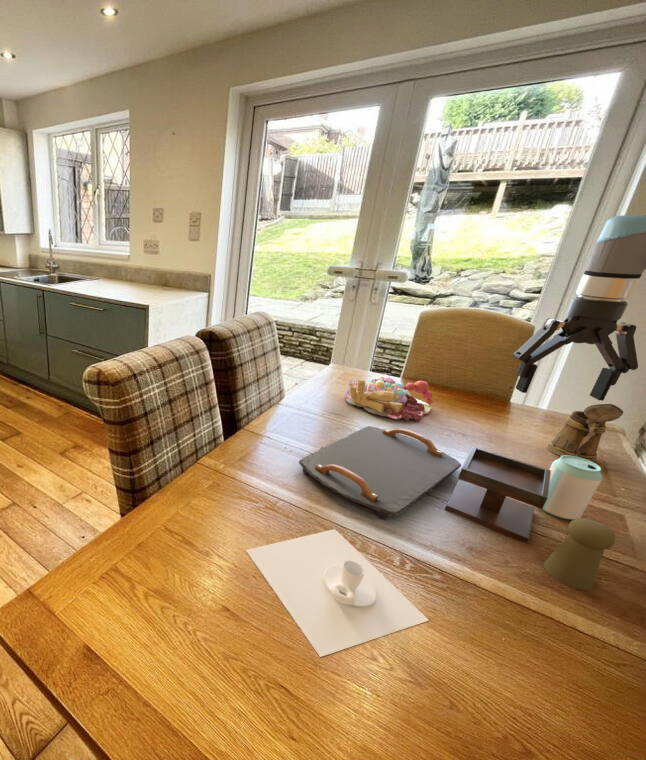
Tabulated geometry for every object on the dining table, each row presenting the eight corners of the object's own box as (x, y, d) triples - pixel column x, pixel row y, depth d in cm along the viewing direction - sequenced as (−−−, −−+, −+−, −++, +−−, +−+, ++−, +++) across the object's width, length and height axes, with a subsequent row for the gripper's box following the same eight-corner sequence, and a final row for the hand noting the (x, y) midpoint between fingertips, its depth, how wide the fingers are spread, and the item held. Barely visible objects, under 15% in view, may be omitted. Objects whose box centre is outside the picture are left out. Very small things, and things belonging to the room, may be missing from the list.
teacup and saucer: (343, 615, 61) (348, 596, 59) (308, 574, 68) (313, 556, 66) (387, 601, 63) (394, 582, 62) (350, 562, 70) (355, 545, 69)
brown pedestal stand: (532, 511, 83) (552, 470, 79) (526, 543, 75) (549, 499, 71) (456, 483, 92) (471, 445, 88) (444, 509, 84) (460, 468, 80)
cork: (542, 574, 68) (569, 524, 64) (544, 555, 72) (569, 507, 68) (593, 596, 64) (625, 545, 60) (591, 575, 68) (621, 525, 64)
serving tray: (385, 532, 77) (393, 507, 75) (286, 473, 95) (290, 451, 93) (465, 469, 97) (473, 448, 95) (371, 430, 115) (376, 411, 113)
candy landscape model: (414, 429, 116) (423, 401, 112) (333, 403, 132) (339, 378, 128) (436, 405, 132) (444, 379, 128) (361, 384, 148) (367, 361, 144)
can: (557, 499, 87) (581, 453, 82) (590, 522, 80) (617, 473, 76) (524, 498, 87) (546, 452, 83) (554, 521, 81) (580, 472, 76)
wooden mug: (553, 463, 100) (583, 399, 94) (544, 441, 111) (571, 382, 104) (603, 475, 96) (640, 409, 89) (589, 451, 106) (621, 390, 99)
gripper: (664, 298, 79) (615, 394, 87) (515, 291, 86) (482, 381, 94) (701, 305, 73) (644, 408, 81) (537, 297, 79) (499, 394, 87)
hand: (557, 394), depth 87 cm, fingers open, 13 cm apart
